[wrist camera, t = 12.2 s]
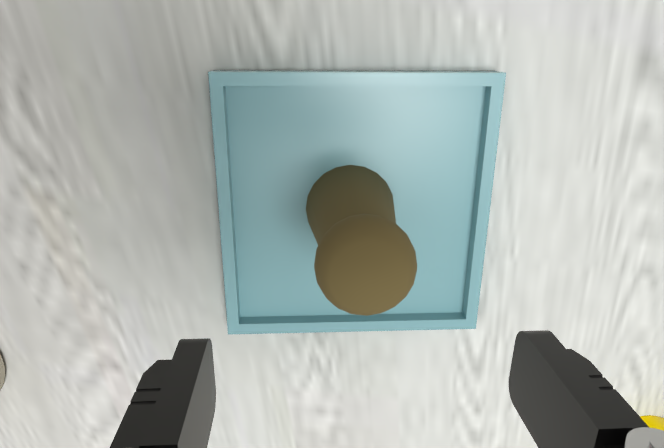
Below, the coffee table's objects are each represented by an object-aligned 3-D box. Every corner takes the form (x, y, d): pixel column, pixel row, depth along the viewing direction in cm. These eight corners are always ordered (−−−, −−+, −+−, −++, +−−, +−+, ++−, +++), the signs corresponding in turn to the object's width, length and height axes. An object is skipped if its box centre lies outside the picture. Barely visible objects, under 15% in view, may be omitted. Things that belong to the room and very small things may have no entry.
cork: (406, 179, 34) (451, 240, 23) (376, 258, 36) (406, 347, 25) (320, 153, 33) (327, 204, 22) (294, 236, 35) (290, 318, 24)
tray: (231, 321, 38) (228, 334, 36) (213, 70, 31) (208, 72, 30) (468, 316, 38) (475, 328, 37) (495, 71, 32) (506, 72, 31)
